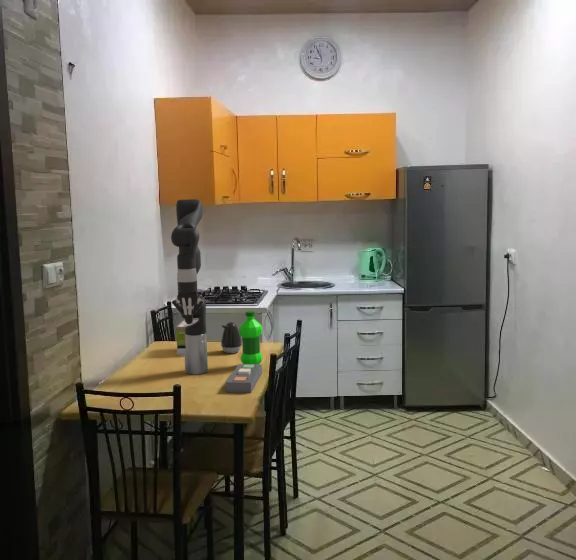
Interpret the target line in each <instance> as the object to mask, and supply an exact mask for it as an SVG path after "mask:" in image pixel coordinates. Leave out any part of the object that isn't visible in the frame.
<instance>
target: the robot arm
mask: <svg viewBox="0 0 576 560" xmlns="http://www.w3.org/2000/svg"><path fill="white" fill-rule="evenodd" d="M175 204H176V205H175V207H176V208H175V209H176V210H175V212H176V213H175V214H176V221H177V226H176V227H175V228H174V229H173V230H172V232H171V235H170V239H171V240H170V241H171V243H172V245H173V246H175V247H177V248H178V254H177V256H176V262H177V263H176V264H177V272H176V273H177V274H176V276H177V277H176V282H177V296H176V298H175V299H174V300H172V301H171V303H172V305H173V306H174V307H175V309H176V310H177V311H178V312H179V313H180V315H181V318H183V319H184V321H185V323H187V324H192V322H193V320H194V319H197V320H198V321H197V322H195V323H194V324H192V325H189V326H187V327H186V328H185V343H186V351H185V352H184V354H185V356H184V372H185V374H189V375H202V374H205V373H208V371H209V369H208V368H209V365H208V340H207V302H206V298H205V297H203V296H200V295H199V293H198V292H199V291H198V274H199V272H200V270H201V267H202V262H201V261H202V259H201V249H200V248H199V245H198V244H199V241H200V233H199V230H198V229H197V226H198V225H199V223H200V221H201V220H202V218H203V213H204V211H203V204H202V201H201V200H199V199H194V198H189V199H187V198H186V199H178V200H177V201H176V203H175Z"/></svg>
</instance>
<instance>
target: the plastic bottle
mask: <svg viewBox="0 0 576 560" xmlns="http://www.w3.org/2000/svg"><path fill="white" fill-rule="evenodd" d="M245 317H246V319H245V321H244V322H243V323H242V324H240V325H239V328H238V329H239V333H240V335H241V340H242V345H241V348H242V353H241V355H240V361H241V364H261V363H262V360H263V354H262V351H261V337H260V336H261V335H262V334H263V325H262V324H261V323H260V322H259V321H258V320H257V319H255V317H256V311H255V310H247V311H245Z"/></svg>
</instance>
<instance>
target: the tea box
mask: <svg viewBox="0 0 576 560" xmlns="http://www.w3.org/2000/svg"><path fill="white" fill-rule="evenodd" d="M198 320H199V319H196V320H195V319H193V322H192V324H194V323H195V322H197V321H198ZM192 324H187V323H185V320H181V321H180V322H179V323H178V324H177V326H175V334H176V335H175V336H176V349H177V350H176V351H177V356H180V357H181V356H184V357H185V354H184V352H185V351H186V343H185V328H186V327H187V326H189V325H192Z"/></svg>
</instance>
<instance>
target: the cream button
mask: <svg viewBox="0 0 576 560" xmlns="http://www.w3.org/2000/svg"><path fill="white" fill-rule="evenodd" d="M250 374H251V369H241V368H240V370H239V371H238V375H250Z"/></svg>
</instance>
